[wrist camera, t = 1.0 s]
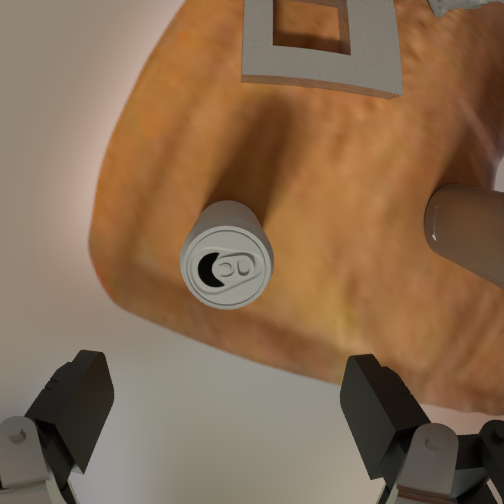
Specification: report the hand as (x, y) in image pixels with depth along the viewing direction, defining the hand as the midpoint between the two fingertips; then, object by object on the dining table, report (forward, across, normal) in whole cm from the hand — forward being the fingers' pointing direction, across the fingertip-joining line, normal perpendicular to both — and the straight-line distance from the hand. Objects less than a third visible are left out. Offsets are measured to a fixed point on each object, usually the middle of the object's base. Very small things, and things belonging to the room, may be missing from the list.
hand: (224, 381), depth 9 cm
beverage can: (+23, 0, 0) cm, 23 cm away
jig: (+23, -9, -22) cm, 33 cm away
